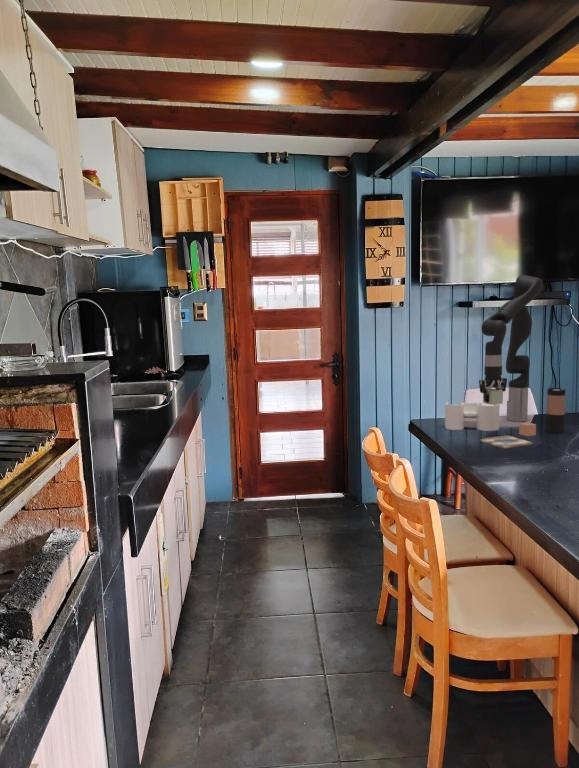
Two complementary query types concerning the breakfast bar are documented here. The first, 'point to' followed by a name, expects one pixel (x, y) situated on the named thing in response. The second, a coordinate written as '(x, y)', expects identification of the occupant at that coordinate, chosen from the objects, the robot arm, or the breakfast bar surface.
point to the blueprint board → (506, 441)
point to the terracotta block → (527, 429)
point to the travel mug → (555, 410)
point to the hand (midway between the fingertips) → (492, 401)
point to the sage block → (495, 397)
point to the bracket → (472, 416)
